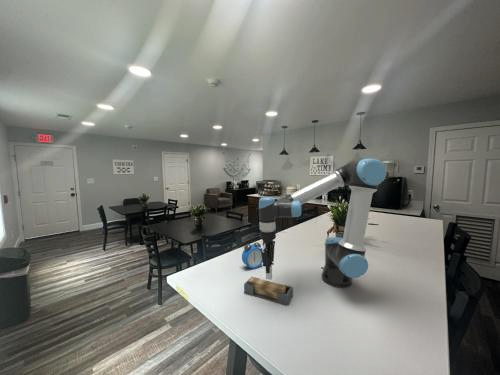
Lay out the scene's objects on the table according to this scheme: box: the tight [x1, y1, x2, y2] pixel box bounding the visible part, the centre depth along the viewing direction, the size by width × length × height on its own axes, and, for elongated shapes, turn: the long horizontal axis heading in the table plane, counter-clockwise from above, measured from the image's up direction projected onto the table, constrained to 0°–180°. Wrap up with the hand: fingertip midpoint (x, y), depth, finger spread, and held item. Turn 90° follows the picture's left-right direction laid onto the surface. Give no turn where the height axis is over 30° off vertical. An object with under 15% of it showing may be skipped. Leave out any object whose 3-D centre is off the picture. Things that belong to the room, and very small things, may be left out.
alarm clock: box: [241, 242, 263, 270], centre depth 126 cm, size 13×6×15 cm, turn 119°
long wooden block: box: [247, 276, 287, 299], centre depth 97 cm, size 18×4×5 cm, turn 62°
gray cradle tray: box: [243, 276, 294, 307], centre depth 96 cm, size 22×8×5 cm, turn 62°
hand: (269, 278), depth 96 cm, fingers closed
